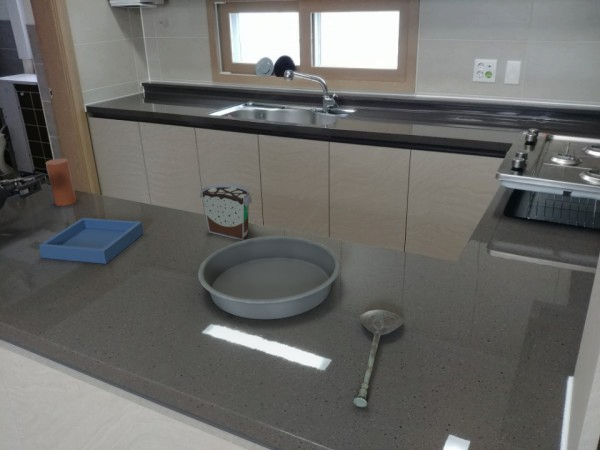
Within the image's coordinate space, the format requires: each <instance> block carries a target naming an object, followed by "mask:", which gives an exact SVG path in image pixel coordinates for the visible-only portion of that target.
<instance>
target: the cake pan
mask: <svg viewBox="0 0 600 450" xmlns="http://www.w3.org/2000/svg"><path fill="white" fill-rule="evenodd" d="M340 271H341V262H340V258H339V256H338V255H337V254H336V252H335V251H334V250H332V249H331V248H330V247H328V246H326V245H325V244H322V243H320V242H318V241H315V240H311V239H307V238H305V237H303V238H302V237H297V236H288V235H286V236H285V235H271V236H270V235H269V236H258V237H253V238H246V239H245V240H238V241H236V242H232V243H230V244H227V245H225V246H223V247H220V248H219V249H217V250H215V251H213V252H212V253H211V254H209V255H208V256H207V257H206V258H205V259H204V260H203V261H202V262H201V263H200V265H199V268H198V272H197V277H198V281H199V283H200V284H201V285H202V287H203V288H204V289H205V290H206V291H208V292H209V295H210V297H211V299H212V301H213V302H214V304H215V305H216V306H217V307H218V308H219V309H221V310H223V311H224V312H226V313H228V314H231V315H233V316H236V317H240V318H244V319H252V320H277V319H285V318H290V317H295V316H297V315H298V316H299V315H301V314H304V313H306V312H309V311H311V310H313V309H315V308H316V307H318V306H319V305H321V304H322V303H323V302H324V301H325V300H326V299H327V298H328V296H329V294H330V293H331V291H332V286H333V282H334V281H335V280H336V278H338V276H339V274H340Z"/></svg>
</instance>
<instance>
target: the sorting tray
mask: <svg viewBox="0 0 600 450" xmlns="http://www.w3.org/2000/svg"><path fill="white" fill-rule="evenodd" d="M142 235H144V227H143V222H142V221H136V220H135V221H134V220H119V219H104V218H91V217H81V218H80V219H79V220H76V221H75V222H73V223H72V224H70V225H69V226H67V227H66V228H63V230H61V231H59V232H58V233H56V234H55V235H53V236H51V237H49V238H48V239H47V240H45V241H43V242H42V243H40V244H39V245H38V250H39V253H40V256H41V257H40V258H41V259H48V260H49V259H50V260H59V261H60V260H61V261H71V262H80V263H81V262H82V263H94V264H101V265H102V264H103V265H104V264H105V265H106V264H108V263H109V262H111V260H113V259H114V258H116V257H117V255H119V254H120V253H121V252H123V251H124V250H125V249H126V248H127V247H129V246H130V245H131V244H133V243H134V242H135V241H136V240H138V238H141V236H142Z"/></svg>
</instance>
